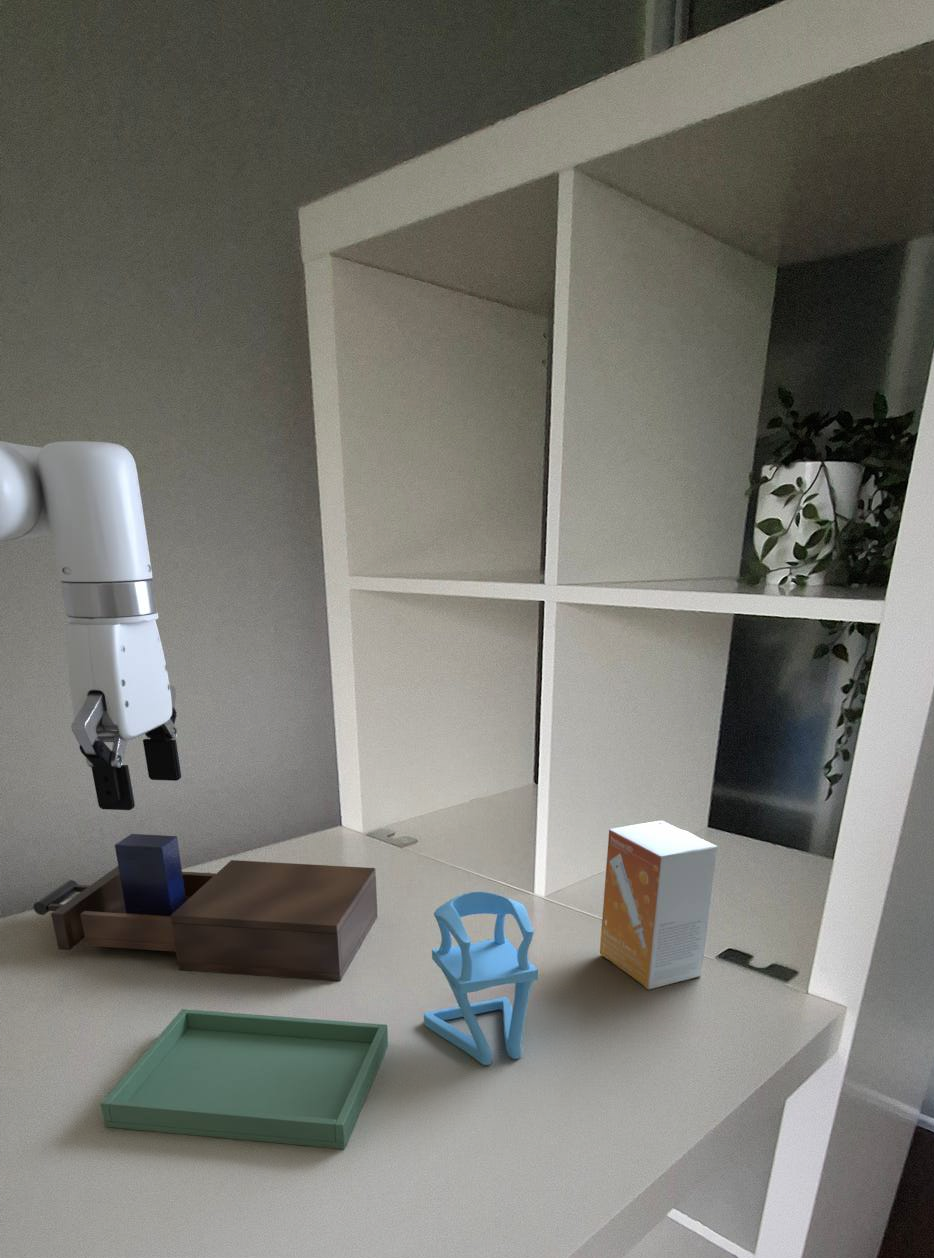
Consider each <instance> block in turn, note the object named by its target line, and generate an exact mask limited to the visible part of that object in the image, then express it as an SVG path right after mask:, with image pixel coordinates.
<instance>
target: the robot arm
mask: <svg viewBox="0 0 934 1258" xmlns="http://www.w3.org/2000/svg"><path fill="white" fill-rule="evenodd" d="M44 536H51V541H52V547H53V553H54V558H55V563H56V568H57V573H58V579H59V581H60V588H61V594H62V599H63V604H64V610H65V614H66V615H65V616H66V621H67V624H66V634H65V641H66V644H65V645H66V661H67V662H66V664H67V673H68V682H69V690H70V697H71V703H72V704H71V705H72V711H73V716H74V719H73V721H72V723H71V731H72V733H73V736H74V737H75V739H76V741H77V743H78V745H79V750H80V752H81V754H82V755H83V756H84V757H85V759H86V760H85V762H86V764H87V766H88V767H89V768H91V772H92V777H93V778H92V779H93V783H94V789H95V794H96V800H97V805H98V807H99V809H100V810H110V811H111V810H112V811H131V810H132V809H134V808H135V807H136V806H135V805H136V804H135V803H136V802H135V797H134V792H133V786H132V780H131V774H130V768H129V764H123V763H124V758H125V754H126V749H127V743H128V741H131V740H134V739H136V738H138V737H140V736H143V735H145V737H146V738H143V739H142V745H143V750H144V755H145V763H146V769H147V776H148V779H150V780H152V781H172V782H175V781H179V780H180V779H181V778H182V770H181V764H180V757H179V751H178V744H177V737H178V729H177V727H176V724H175V723H176V719H177V714H178V712H177V711H176V709H175V708H176V697H177V691H176V688H175V687H174V686H173V685H172V684H170V679H169V673H168V668H167V663H166V657H165V653H164V649H163V644H162V640H161V636H160V631H159V629H158V625H157V620H158V619H159V618H160V617H159V612H158V604H157V597H156V591H155V584H154V579H153V578H154V577H153V570H152V564H151V556H150V549H149V543H148V542H149V541H148V535H147V529H146V522H145V516H144V508H143V502H142V495H141V489H140V481H139V475H138V469H137V464H136V461H135V458H134V456H133V455H132V453H131V452H130V451H129V449H127V448H126V447H125V446H123V445H121V444H118V443H113V442H107V441H92V440H91V441H90V440H66V441H65V440H64V441H54V442H50V443H47V444H45V445H43V447H41V446H34V445H33V446H32V445H26V444H20V443H13V442H8V441H2V440H0V541H2V542H3V541H5V542H6V541H18V540H26V539H32V538H33V539H34V538H38V537H44ZM106 743H112V748H111V749H110V748H109V747H108V745H107V744H106Z"/></svg>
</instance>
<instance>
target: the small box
mask: <svg viewBox="0 0 934 1258" xmlns="http://www.w3.org/2000/svg"><path fill="white" fill-rule="evenodd" d="M607 841H608V842H607V853H606V854H607V855H606V856H607V857H606V866H605V880H604V890H603V891H604V892H603V893H604V894H603V906H602V917H601V918H602V919H601V930H600V931H601V932H600V942H599V955H600V956H602V957H603V958H605V959H607V960H608V961H610V962H611V964H614V965H615V966H617V968H619V969H620V970H622V971H623V972H625V973H626V974H628V975H629V977H631V978H633V979H634V980H636V981H637V982H638V983H639V984H641V985H642V986H643V987H644V988H646V989H647V990H652V989H657V988H660V987H664V986H668V985H672V984H675V983H679V982H683V981H687V980H691V979H694V978H695V979H696V978H698V977H700V976H702V974H703V966H704V965H703V964H704V957H705V956H704V955H705V950H706V949H705V948H706V940H707V933H708V926H709V925H708V924H709V917H710V909H711V901H712V899H711V898H712V894H713V884H714V877H715V876H714V875H715V867H716V859H717V853H718V845H716V844H714V843H712V842H709V841H708V840H706V839H703V838H701V837H699V836H697V835H696V834H693V832H690V831H688V830H684V829H681V828H679V827H677V826H675V825H673V824H671V823H668V822H667V821H665V820H656V821H649V822H643V823H636V824H631V825H630V824H629V825H625V826H620V827H619V826H618V827H614V828H610V829H608V840H607Z"/></svg>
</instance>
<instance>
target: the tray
mask: <svg viewBox="0 0 934 1258" xmlns="http://www.w3.org/2000/svg"><path fill="white" fill-rule="evenodd" d="M388 1047H389V1032H388V1024H383V1023H371V1022H359V1021H344V1020H334V1019H333V1020H330V1019H317V1018H306V1017H292V1016H279V1015H266V1014H254V1013H253V1014H252V1013H242V1012H241V1013H240V1012H228V1011H227V1012H225V1011H212V1010H200V1009H187V1008H182V1009H181V1010H180V1011H179V1012H178V1013H177V1015H175V1017H173V1019H172V1020H171V1021H170V1022H169V1024H167V1026H166V1027H165V1028H164V1029H163V1031H162V1032H161V1033H160V1034H159V1035H158V1036H157V1037H156V1039H155V1040H154V1041H153V1042H152V1043H151V1045H150V1046H149V1047H148V1048H147V1049H146V1050H145V1051H144V1053H143V1054H142V1055H141V1056H140V1057H139V1058H138V1059H137V1061H136V1062H135V1063H134V1064H133V1065H132V1066H131V1068H130V1069H129V1070H128V1071H127V1072H126V1073H125V1075H124V1076H123V1077H122V1078H121V1079H120V1080H119V1081H118V1083H116V1085H115V1086H114V1087H113V1088H112V1089H111V1091H110V1092H109V1093H108V1094H107V1095H106V1096H105V1097H104V1099H103V1100H102V1101H101V1102H100V1108H101V1113H102V1119H103V1123H104V1127H105V1128H113V1127H114V1129H124V1128H125V1130H136V1131H145V1132H157V1133H166V1134H167V1133H169V1134H179V1135H189V1136H200V1137H210V1138H222V1139H232V1140H243V1141H253V1142H264V1143H274V1144H284V1145H285V1144H286V1145H297V1146H306V1147H317V1148H327V1149H328V1148H330V1149H340V1150H345V1149H346V1147H347V1144H348V1142H349V1140H350V1137H351V1135H352V1133H353V1130H354V1128H355V1126H356V1123H357V1120H358V1118H359V1116H360V1114H361V1112H362V1109H363V1106H364V1104H365V1102H366V1100H367V1098H368V1095H369V1092H370V1090H371V1087H372V1085H373V1083H374V1081H375V1078H376V1076H377V1073H378V1071H379V1069H380V1066H381V1063H382V1062H383V1059H384V1057H385V1055H386V1052H387V1049H388ZM115 1127H116V1128H115Z"/></svg>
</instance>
